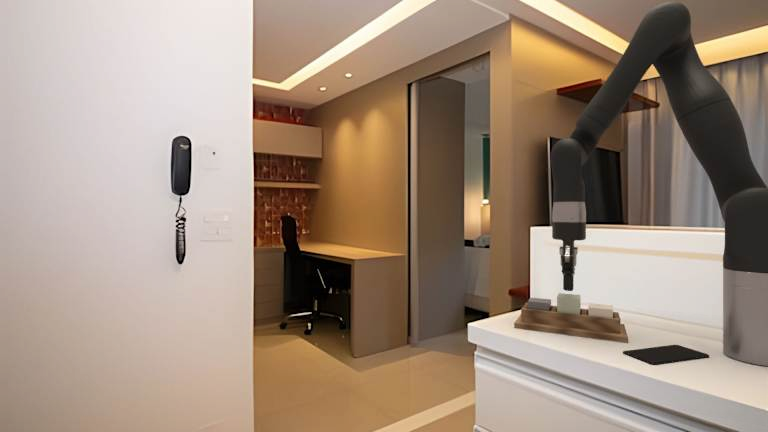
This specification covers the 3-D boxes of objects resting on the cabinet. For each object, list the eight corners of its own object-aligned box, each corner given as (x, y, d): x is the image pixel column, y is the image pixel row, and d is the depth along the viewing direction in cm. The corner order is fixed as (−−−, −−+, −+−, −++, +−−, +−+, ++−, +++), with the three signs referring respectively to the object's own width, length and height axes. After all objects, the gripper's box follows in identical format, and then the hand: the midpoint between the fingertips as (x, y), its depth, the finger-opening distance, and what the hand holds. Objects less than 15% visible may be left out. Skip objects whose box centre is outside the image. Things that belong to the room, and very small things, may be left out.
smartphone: (620, 351, 78) (676, 344, 82) (620, 355, 78) (676, 348, 82) (653, 363, 72) (711, 354, 76) (653, 367, 72) (711, 359, 76)
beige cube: (612, 325, 93) (612, 305, 93) (612, 330, 89) (612, 309, 89) (588, 322, 95) (588, 303, 95) (588, 327, 91) (588, 307, 91)
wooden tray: (624, 328, 95) (624, 311, 95) (628, 343, 84) (628, 322, 84) (522, 316, 106) (522, 300, 106) (514, 327, 96) (514, 310, 96)
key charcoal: (551, 317, 100) (551, 299, 100) (549, 322, 95) (549, 303, 95) (530, 315, 102) (530, 297, 102) (527, 320, 98) (527, 301, 98)
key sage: (580, 314, 96) (580, 295, 96) (579, 318, 92) (579, 298, 92) (558, 311, 99) (558, 293, 99) (557, 316, 94) (557, 296, 94)
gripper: (585, 221, 88) (584, 296, 88) (586, 220, 99) (585, 287, 99) (549, 220, 91) (549, 293, 91) (554, 220, 103) (554, 284, 103)
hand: (568, 290), depth 95 cm, fingers closed
